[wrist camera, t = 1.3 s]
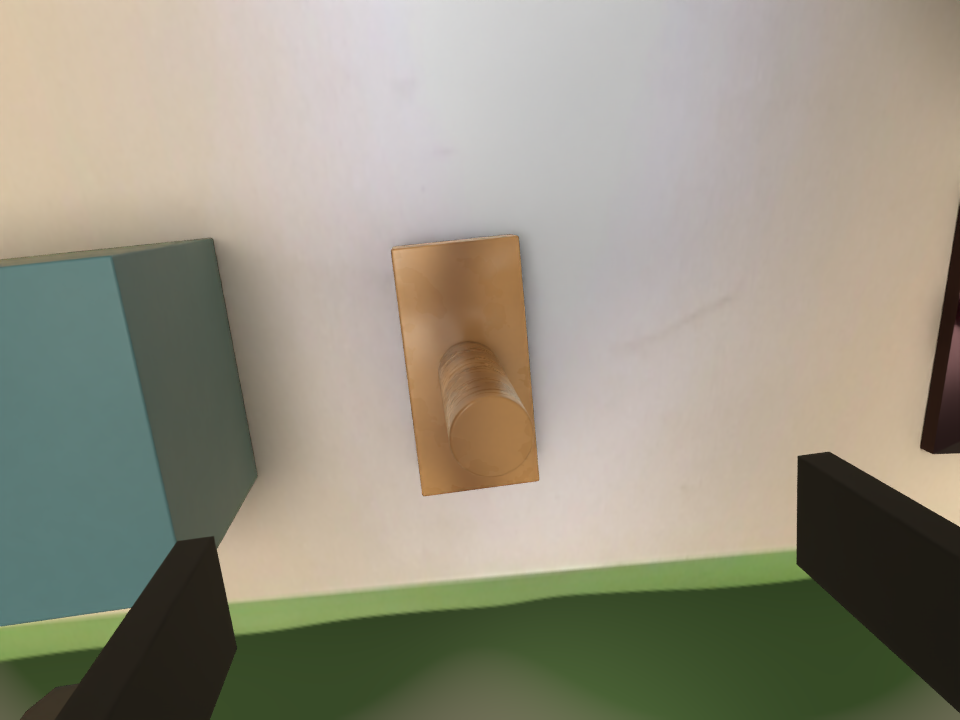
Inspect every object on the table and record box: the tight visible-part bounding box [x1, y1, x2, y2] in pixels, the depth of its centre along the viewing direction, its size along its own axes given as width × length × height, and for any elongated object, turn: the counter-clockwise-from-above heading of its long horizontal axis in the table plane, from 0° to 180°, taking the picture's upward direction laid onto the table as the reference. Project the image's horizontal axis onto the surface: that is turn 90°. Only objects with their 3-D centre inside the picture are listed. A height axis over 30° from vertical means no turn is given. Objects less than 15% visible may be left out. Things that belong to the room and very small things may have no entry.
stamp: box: [391, 234, 539, 496], centre depth 28 cm, size 6×12×12 cm, turn 6°
